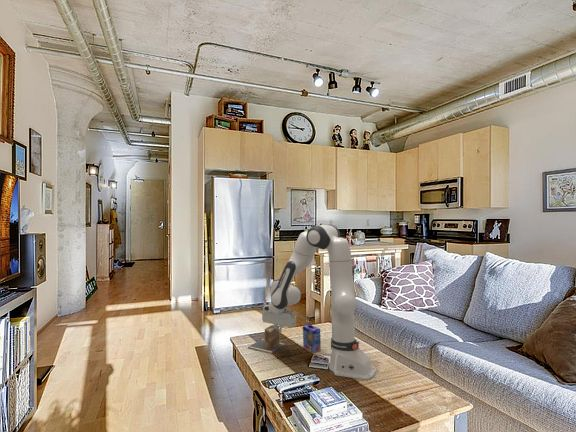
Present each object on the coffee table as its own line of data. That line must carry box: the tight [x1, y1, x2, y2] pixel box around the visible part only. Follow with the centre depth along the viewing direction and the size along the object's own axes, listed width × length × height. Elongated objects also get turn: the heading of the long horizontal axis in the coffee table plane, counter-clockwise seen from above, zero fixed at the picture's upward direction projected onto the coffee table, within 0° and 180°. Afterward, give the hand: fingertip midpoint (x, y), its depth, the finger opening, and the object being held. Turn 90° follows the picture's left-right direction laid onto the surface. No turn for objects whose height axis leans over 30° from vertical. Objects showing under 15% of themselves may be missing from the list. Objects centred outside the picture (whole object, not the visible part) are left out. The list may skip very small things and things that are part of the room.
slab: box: [264, 324, 280, 350], centre depth 187 cm, size 4×9×11 cm, turn 150°
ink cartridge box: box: [302, 322, 322, 353], centre depth 186 cm, size 10×6×14 cm, turn 35°
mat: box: [247, 338, 285, 355], centre depth 189 cm, size 16×14×1 cm
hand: (278, 332), depth 185 cm, fingers closed
